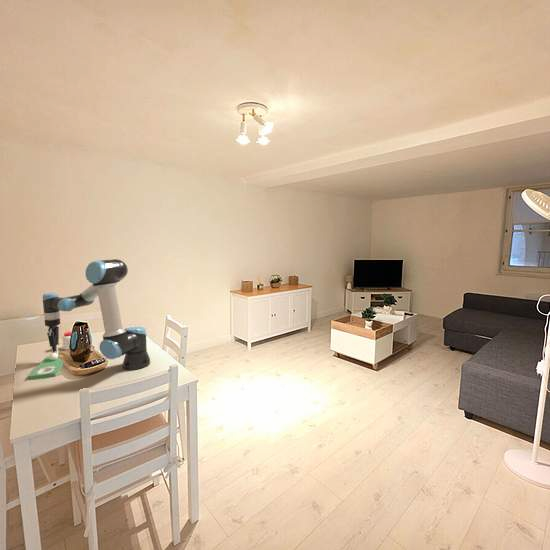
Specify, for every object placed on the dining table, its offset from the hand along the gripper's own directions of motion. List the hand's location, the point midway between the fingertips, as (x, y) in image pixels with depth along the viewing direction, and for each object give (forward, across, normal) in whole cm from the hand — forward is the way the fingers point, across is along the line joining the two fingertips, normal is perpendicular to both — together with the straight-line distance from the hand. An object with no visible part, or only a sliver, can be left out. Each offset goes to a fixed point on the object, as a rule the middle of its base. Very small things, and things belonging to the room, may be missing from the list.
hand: (55, 355), depth 185 cm
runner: (+4, +9, 0) cm, 10 cm away
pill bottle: (+4, -23, +2) cm, 23 cm away
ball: (0, +3, 0) cm, 3 cm away
